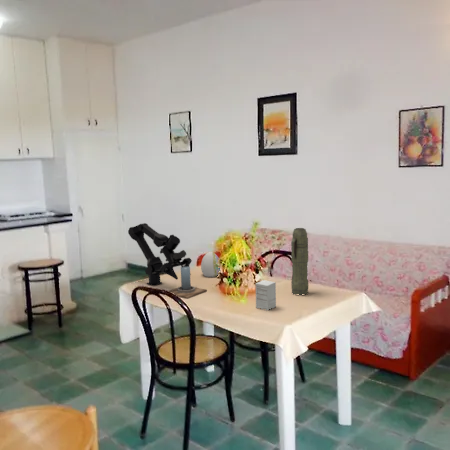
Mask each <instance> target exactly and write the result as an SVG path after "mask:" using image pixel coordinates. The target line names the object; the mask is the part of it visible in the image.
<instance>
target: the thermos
mask: <svg viewBox="0 0 450 450" xmlns="http://www.w3.org/2000/svg"><path fill="white" fill-rule="evenodd" d="M290 243H291V244H290V245H291V246H290V247H291V252H290V253H291V254H290V255H291V263H292V268H291V269H292V279H291V294H292V293H293V294H292V295H294V294H299V295H302V294H307V293H308V294H309V280H308V262H309V245H308V244H309V239H308V233H307V229H306V228H303V227H297V228H296V227H295V228H294V229H293V232H292V239H291V242H290ZM308 294H307V295H308ZM299 295H298V296H299ZM302 296H303V295H302Z"/></svg>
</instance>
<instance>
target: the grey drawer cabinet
mask: <svg viewBox="0 0 450 450" xmlns="http://www.w3.org/2000/svg"><path fill="white" fill-rule="evenodd" d="M276 285H277V284H276V282H275V281H271V280H265V279H262V280H260V281H258V282H256V283H255V308H257V309H258V308H261V309H260V310H263V309H266V310H265V311H267V310H268V311H270V310H271V308H272V309H274V308H276V307H277V298H276V297H277V292H276V291H277V289H276V287H277V286H276ZM269 309H270V310H269Z"/></svg>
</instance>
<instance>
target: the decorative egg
mask: <svg viewBox="0 0 450 450" xmlns="http://www.w3.org/2000/svg"><path fill="white" fill-rule="evenodd" d="M218 259H219V260H220V258H219V256H218V255H217V254H216V253H215V252H214V251H208V252H206V253H205V254H204V255H203V257H202V259H201V263H200V269H201V273H202V275H203V276H204V277H208V278H215V277H217V275H218V276H219V274H218V272H219V271H220V272H221V270H220V268H218V267H216V266H215V265H214V264H216V263H217V262H218Z"/></svg>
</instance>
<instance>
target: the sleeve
mask: <svg viewBox="0 0 450 450" xmlns="http://www.w3.org/2000/svg"><path fill="white" fill-rule="evenodd" d="M190 274H191V267H190V266H189V267H187V266H185V267H181V266H180V281H181V283H180V287H182V290H191V286H192V285H191V284H192V283H191V275H190Z"/></svg>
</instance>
